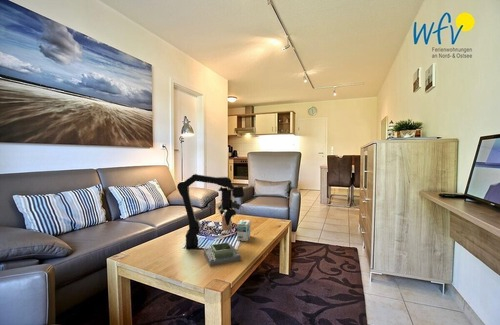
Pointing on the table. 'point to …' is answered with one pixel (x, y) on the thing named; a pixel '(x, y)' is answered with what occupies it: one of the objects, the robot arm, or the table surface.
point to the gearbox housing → (221, 254)
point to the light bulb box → (243, 230)
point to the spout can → (224, 225)
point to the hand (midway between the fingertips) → (226, 223)
